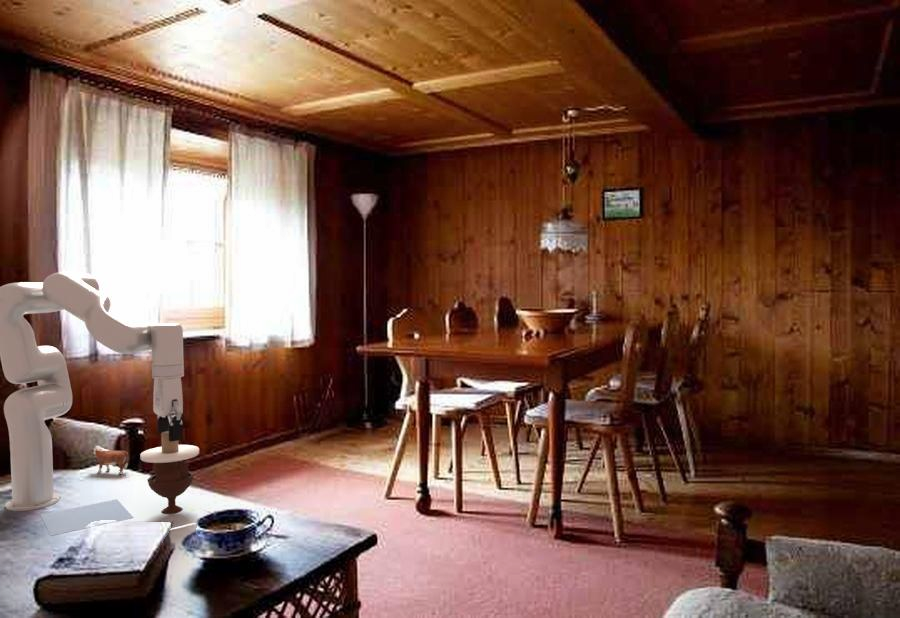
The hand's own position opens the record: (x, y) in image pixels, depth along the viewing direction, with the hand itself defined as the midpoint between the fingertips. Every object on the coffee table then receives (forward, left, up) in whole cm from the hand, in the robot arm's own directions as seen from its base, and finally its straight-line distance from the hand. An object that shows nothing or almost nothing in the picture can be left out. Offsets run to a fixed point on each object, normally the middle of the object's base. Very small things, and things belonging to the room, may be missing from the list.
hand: (169, 436), depth 169 cm
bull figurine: (-50, -4, -20) cm, 54 cm away
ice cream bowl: (0, 0, -20) cm, 20 cm away
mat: (-10, -18, -20) cm, 29 cm away
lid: (0, 0, -5) cm, 5 cm away
